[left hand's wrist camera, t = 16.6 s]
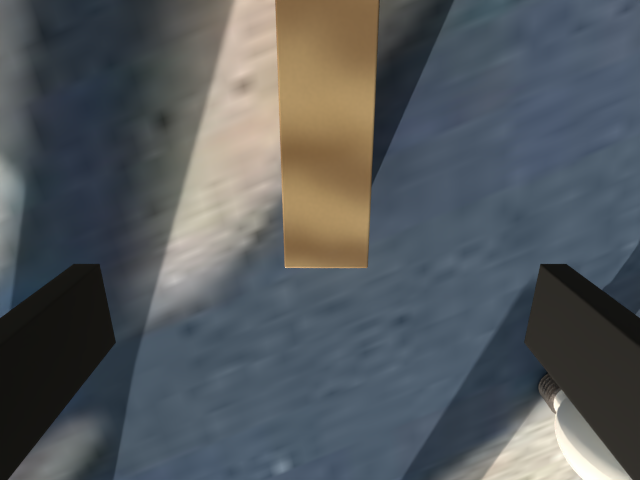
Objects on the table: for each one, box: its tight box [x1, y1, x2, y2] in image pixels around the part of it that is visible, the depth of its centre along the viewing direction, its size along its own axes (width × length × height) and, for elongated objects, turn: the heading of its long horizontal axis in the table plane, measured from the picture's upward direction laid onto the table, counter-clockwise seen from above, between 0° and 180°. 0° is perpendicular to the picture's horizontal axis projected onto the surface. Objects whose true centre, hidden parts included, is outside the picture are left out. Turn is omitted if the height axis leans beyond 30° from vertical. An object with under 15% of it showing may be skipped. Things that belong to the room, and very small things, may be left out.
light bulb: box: [539, 373, 632, 480], centre depth 34 cm, size 7×7×11 cm
